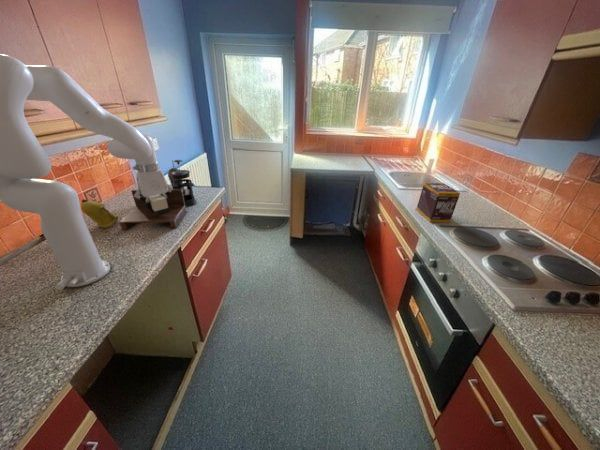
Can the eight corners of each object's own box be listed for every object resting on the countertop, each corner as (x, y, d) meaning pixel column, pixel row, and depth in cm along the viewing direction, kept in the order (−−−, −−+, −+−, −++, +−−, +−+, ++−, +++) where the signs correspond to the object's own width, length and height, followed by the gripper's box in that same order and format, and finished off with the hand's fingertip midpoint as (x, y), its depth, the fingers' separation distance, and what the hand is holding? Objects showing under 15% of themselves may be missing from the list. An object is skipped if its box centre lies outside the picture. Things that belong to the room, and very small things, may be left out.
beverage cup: (183, 191, 148) (176, 157, 138) (187, 195, 143) (181, 160, 133) (170, 194, 144) (162, 159, 134) (174, 198, 139) (166, 162, 129)
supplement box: (429, 222, 122) (439, 192, 114) (416, 209, 135) (423, 181, 128) (450, 222, 122) (461, 193, 115) (434, 209, 136) (443, 182, 128)
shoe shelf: (176, 228, 109) (170, 203, 104) (122, 230, 106) (112, 204, 101) (186, 211, 124) (181, 189, 118) (139, 213, 121) (132, 189, 116)
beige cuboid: (169, 211, 108) (166, 198, 106) (156, 215, 105) (153, 201, 102) (158, 203, 115) (155, 191, 113) (145, 206, 112) (142, 194, 109)
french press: (184, 198, 139) (175, 157, 128) (199, 200, 137) (192, 158, 126) (171, 207, 128) (160, 162, 117) (187, 208, 127) (178, 164, 116)
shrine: (105, 234, 103) (92, 200, 96) (86, 232, 104) (72, 199, 96) (124, 221, 113) (113, 190, 106) (107, 220, 114) (95, 189, 106)
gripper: (127, 173, 93) (139, 216, 101) (173, 165, 104) (181, 205, 113) (120, 169, 97) (133, 211, 106) (165, 162, 109) (174, 201, 117)
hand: (157, 207), depth 109 cm, fingers closed on beige cuboid, 5 cm apart
